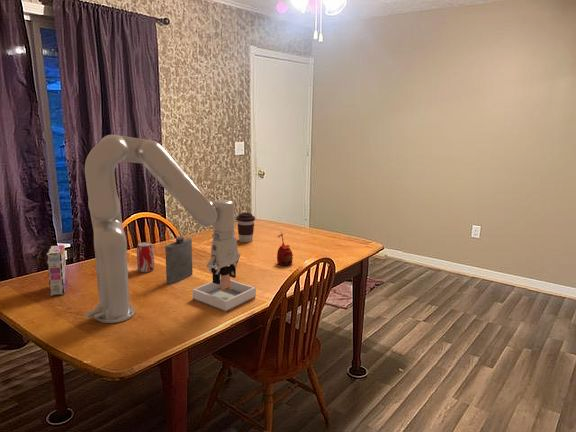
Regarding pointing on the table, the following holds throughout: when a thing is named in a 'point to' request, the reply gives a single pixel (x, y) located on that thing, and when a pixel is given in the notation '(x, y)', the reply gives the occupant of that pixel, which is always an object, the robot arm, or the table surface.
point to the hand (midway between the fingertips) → (224, 279)
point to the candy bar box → (57, 270)
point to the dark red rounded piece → (284, 254)
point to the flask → (178, 260)
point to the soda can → (145, 257)
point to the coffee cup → (245, 227)
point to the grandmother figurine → (225, 278)
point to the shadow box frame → (224, 295)
